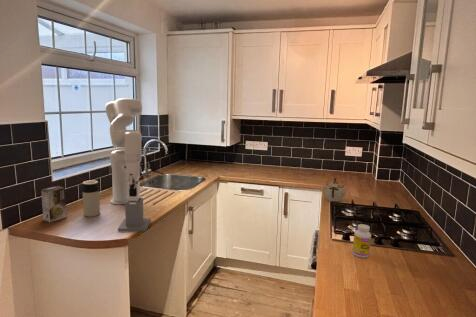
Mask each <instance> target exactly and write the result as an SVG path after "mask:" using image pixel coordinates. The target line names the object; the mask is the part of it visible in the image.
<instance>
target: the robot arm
mask: <svg viewBox="0 0 476 317" xmlns="http://www.w3.org/2000/svg"><path fill="white" fill-rule="evenodd" d="M142 112H143V106H142V103H141V101H140V100H139V99H137V98H118V99H116V100H115V101H109V102H107V103H106V104H105V114H106V117H107V118H108V121H109V124H110V126H109V135H110V136H109V137H110V139H111V145H112V147H114V148H117V149H118V148H119V149H118V150H113V151H111V152H110V154H109V161H110V166H111V177H112V178H111V180H112V198H110V204H112V205H125V202H126V201H127V199H128V183H129V196H130V197H136V182H139V179H140V177H141V165H140V164H141V162H142V158H143V157H142V140H143V136H142V135H143V134H142V133H141V131H140V130H138V129H127V127H129V126H131V125H132V124H133V123H134V120H135V117H138V116H139V115H141V113H142ZM121 148H123V149H121ZM133 183H134V184H133Z"/></svg>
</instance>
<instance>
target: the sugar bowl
mask: <svg viewBox="0 0 476 317" xmlns="http://www.w3.org/2000/svg"><path fill="white" fill-rule="evenodd" d="M322 193H323V196H324V197H325V199H326V200H327V199H328V200H331V201H339V202H340V201H341V200H343V198H344V197H345V196H346V194H347V190H346V188H345V187H344V185H342V184H340V183H339V182H337V178H336V177H335V178H333V182H329V183H326V184H325V185H324V186H322ZM328 200H327V201H328ZM331 201H330V202H331Z"/></svg>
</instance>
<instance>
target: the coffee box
mask: <svg viewBox="0 0 476 317" xmlns="http://www.w3.org/2000/svg"><path fill="white" fill-rule="evenodd" d="M40 193H41V205H42V207H41V208H42V218H43V221H46V222H48V223H53V222H55V221H56V222H57V221H59V220H62V219H65V218H68V209H67V208H68V207H67V199H66V188H65V187H63V186H60V185H56V186H50V187H47V188H41V189H40Z"/></svg>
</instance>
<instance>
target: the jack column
mask: <svg viewBox="0 0 476 317" xmlns="http://www.w3.org/2000/svg"><path fill="white" fill-rule="evenodd" d="M133 184H134V183H133ZM140 198H141V182H140V181H138V182H136V197H130V196H129V183H128V202H139V201H140Z"/></svg>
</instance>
